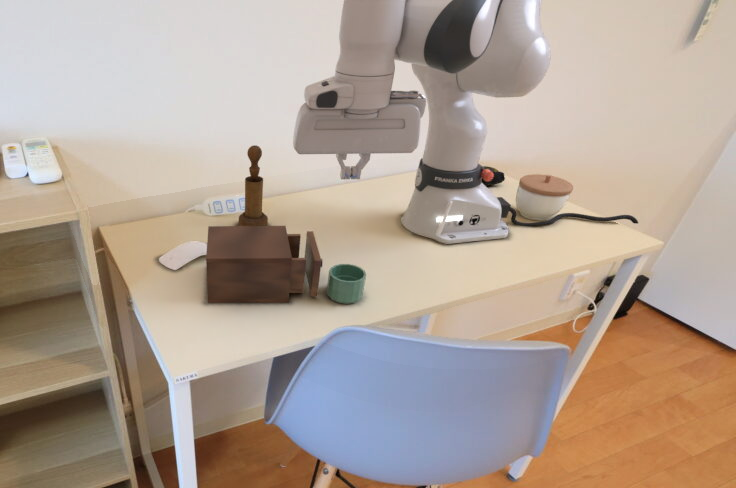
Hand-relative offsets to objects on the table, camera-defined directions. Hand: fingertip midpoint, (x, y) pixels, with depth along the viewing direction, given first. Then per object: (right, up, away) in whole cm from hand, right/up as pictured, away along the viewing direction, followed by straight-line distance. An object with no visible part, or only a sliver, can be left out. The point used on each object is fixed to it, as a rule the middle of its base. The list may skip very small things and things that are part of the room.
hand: (349, 178), depth 89 cm
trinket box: (+51, +1, +32) cm, 60 cm away
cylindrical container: (0, -20, +6) cm, 21 cm away
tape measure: (+47, +13, +47) cm, 68 cm away
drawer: (-11, -17, +9) cm, 22 cm away
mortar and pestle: (-15, -2, +29) cm, 33 cm away
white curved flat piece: (-29, -11, +18) cm, 36 cm away
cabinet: (-17, -17, +9) cm, 26 cm away
